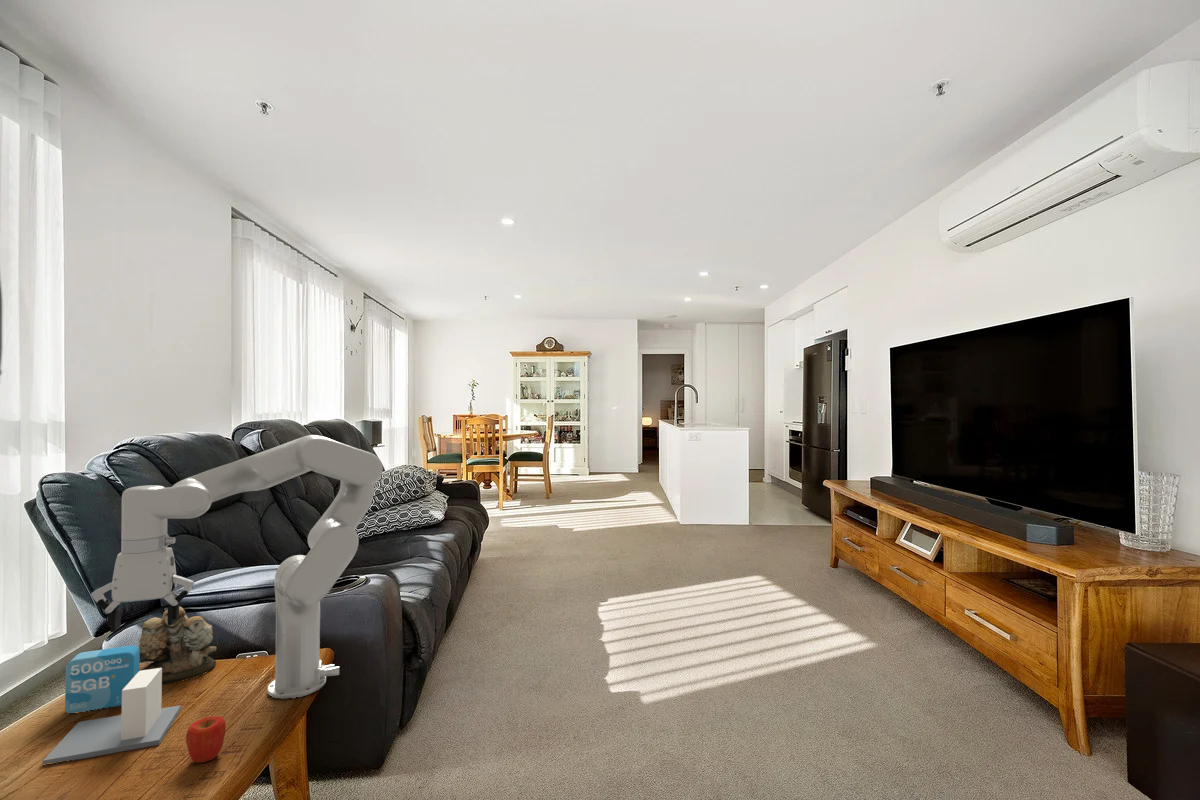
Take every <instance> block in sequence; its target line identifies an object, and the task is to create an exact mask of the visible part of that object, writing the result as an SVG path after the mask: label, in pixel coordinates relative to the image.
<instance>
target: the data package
mask: <svg viewBox="0 0 1200 800" xmlns="http://www.w3.org/2000/svg"><path fill="white" fill-rule="evenodd" d="M139 671H140V650H139V646H136V645H134V644H133V645H132V644H131V645H123V646H118V647H116V646H115V647H111V648H104V649H96V650H89V651H84V652H79V653H77V654H76V655H75V656H74V657H73V658H72V659H71V660H70V661H69V662H68V663H67V664H66V666H65V688H64V689H65V690H64V691H65V693H64V694H65V695H64V698H65V699H64V710H65V712H66V713H68V714H69V713H75V712H83V711H88V712H90V711H89V710H94V711H98V710H97V709H100V710H103V709H102V708H105V709H110V708H109V707H111V708H115V707H116V708H117V707H122V690H123V689H124V688H125V686H126V685H127V684H128V683H129V682H130V681H131V680H132V679H133V677H134V676H135V675H136V674H137V673H138V672H139ZM95 709H96V710H95ZM83 713H84V712H83Z"/></svg>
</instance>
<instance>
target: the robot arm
mask: <svg viewBox="0 0 1200 800" xmlns="http://www.w3.org/2000/svg"><path fill="white" fill-rule="evenodd" d="M383 467H384V466H383V463H382V461H381V460H380V458H379V457H378V456H377V455H375V454H374V453H373V452H369V451H366V450H363V449H359V448H357V447H353V446H351V445H348V444H345V443H343V442H339V441H336V440H334V439H333V438H332V439H331V438H329V437H326V436H323V435H317V434H308V435H304V436H301V437H299V438H296V439H293V440H290V441H288V442H285V443H282V444H280V445H277V446H275V447H272V448H269V449H266V450H264V451H260V452H258V453H255V454H253V455H249V456H246V457H243V458H241V459H238V460H236V461H232V462H229V463H226V464H223V465H220V466H217V467H214V468H210V469H207V470H206V471H203V472H200V473H198V474H195V475H191V476H189V477H187V478H184V479H182V480H180V481H178V482H176V483H174V484H173V485H172V486H170V487H165V486H163V485H158V484H157V485H155V484H154V485H152V484H151V485H150V484H149V485H137V486H132V487H129V488H127V489H124V490H123V491H122V495H121V542H120V543H121V551H120V552H119V553H118V554H117V556H116V559H115V563H114V567H113V568H114V569H113V574H112V581H111V582H108V583H107V584H105V585H103V586H101V587H99V588H97V589H95V590H94V591H92V592H91V594H90V595H91V598H93V600H94V602H96V605H97V606H98V607H99V608H101V609H102V610H104V612H105V613H106V614H107V628H109V631H110V633H114V632H116V631H118V629H120V628H121V626H122V625H121V623H122V622H121V621H122V617H121V616H122V609H121V607H119V606H120V605H121V604H122V603H131V602H132V603H133V602H141V601H142V602H143V601H151V600H152V601H153V600H158V599H159V600H161V599H164V601H166V602H167V603H168V604H169V605H168V606H167V609H168V625H172V624H173V623H174V622H175V621H176V619H178V618H179V607H180V603H181V602H182V601H183V599H184V598H185V597H186V596H188V595H189V593H190V592H191V590H192V588H193V587H194V584H195V581H194V580H192V579H189V578H186V577H183V576H180V575H177V570H176V569H177V567H176V562H175V554H174V550H173V548H172V547H168V546H169V545H171V544H173V545H174V544H175V543H176V537H173V536H172V537H171V536H169V534H168V519H170V520H171V519H173V520H174V519H176V520H177V519H181V520H182V519H185V520H186V519H189V520H190V519H195V518H197V517H200V516H202V515H204V514H205V513H207V511H208V510H210V508H211V505H212V503H214V502H217V501H219V500H222V499H225V498H227V497H230V496H233V495H237V494H240V493H246V492H254V491H262V490H266V489H269V488H272V487H274V486H276V485H278V484H282V483H283V482H286V481H288V480H290V479H294V478H295V477H298V476H301V475H305V474H306V473H308V472H311V471H312V472H314V473H317V474H319V475H323V476H326V477H329V478H332V479H334V480H335V479H336V480H339V481H340V485H339V490H338V493H337V494H336V496H335V497H334V499H333V501H332V502H331V504H330V505H329V507H328V508H327V509H326V510H325V512H324V513H323V514H322V516H321V517H320V518H319V519H318V521H316V523H315V524H314V525H313V527H312V528H311V529H310V530H309V533H308V535H307V544H308V547H309V548H310V550H309V551H308V552H307V554H306V555H303V554H297V555H296V554H295V555H292V556H289V557H288V558H286V559H285V560H283V561H282V562H281V563H280V564H279V566H278V567H277V568H276V569H277V570H276V572H275V574H274V582H273V583H274V585H273V586H274V596H275V598H274V599H275V660H274V662H275V668H274V672H275V673H274V674H275V676H274V680H272V681H271V682H270V683H269V684H268V686H267V695H268V694H269V695H270V696H272V697H271V698H273V697H275V698H274V699H276V698H292V699H297V698H296V697H298V698H301V697H304V696H308V695H310V694H313V693H315V692H317V691H318V690H320V689H322V688H323V686H325V684H326V682H327V677H334V676H339V675H340V666H335V663H334V664H333V663H331V664H327V665H325V664H323V663H322V661H323V660H322V659H320V648H321V646H320V645H321V641H320V640H321V639H320V638H321V632H320V631H321V601H322V599H323V598H324V597H325V596H326V595H327V594H328V593H329V592H330V590H331V589H332V588H333V586H334V585H335V583H337V580H339V578H340V577H341V575H342V574H343V572H344V571H345V570H346V568H347V567H348V565H349V564H350V563H351V562H352V560H353V558H354V557H355V555H356V553H357V551H358V547H359V541H360V539H359V535H358V532H357V531H356V528H358V526H359V524H360V523H361V521H362V519H363V518H364V516H365V515H366V514H367V512H368V510H369V509H370V507H371V506H372V505H371V504H372V503H373V498H374V494H375V483H377V482H378V481H379V480H380V478H381V477H382V475H383ZM178 585H180V586H182V587H183V589H182V590H181V592H180V593H179V594H178V593H177V592H176V591H175V590H176V589H177V587H178ZM110 590H111V600H112V601H111V600H110V599H108V598H107V597H105V595H104V594H105V593H107V592H108V591H110ZM269 695H268V696H269ZM270 696H269V697H270Z"/></svg>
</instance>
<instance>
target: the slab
mask: <svg viewBox="0 0 1200 800" xmlns="http://www.w3.org/2000/svg"><path fill="white" fill-rule="evenodd" d="M141 670H142V669H141ZM162 686H163V685H162V668H156V669H149V670H142V671H140V670H139V672H138V673H137V674H136V675H135V676H134V677H133V679H132V680H131V681H130V682H129V683H128V684H127V685H126V686H125V688H124V689H123V690H122V706H121V715H122V718H121V740H126V739H132V738H138V737H144V736H146V735H147V733H148V732H149V731H150V729H151V728H152V726H153V725H154V723H155V722H156V720H157V719H158V718H159V716H160V715H161V708H162V698H163V697H162V694H163V693H162V691H163V690H162V689H163V688H162Z"/></svg>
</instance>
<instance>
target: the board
mask: <svg viewBox="0 0 1200 800" xmlns="http://www.w3.org/2000/svg"><path fill="white" fill-rule="evenodd" d="M181 710H182V705H174V706H168V707H161V715H160V716H159V718H158V719H157V720H156V722H155V723H154V725H153V726H152V728H151V729H150V731H149V732H148V733H147V735H146V736H144V737H138V738H132V739H126V740H121V718H122V714H118V715H113V716H107V717H102V718H95V719H90V720H88V719H87V720H82V721H78V722H77V723H76V724H75V725H74V726H73V727H72V729H71V730H70V731H69V732H68V733H67V734H65V736H64V737H63V738H62V739H61V740H60V742H58V743H57V745H56V746H55V747H54V748H53V749H52V750H51V751H50V752H49V754H48V755H47V756H46V757H45V758H44V759H43V760H42V765H43V764H47V763H53V762H54V763H55V762H59V761H67V760H72V761H78V760H82V759H88V758H93V757H100V756H103V755H109V754H115V753H121V752H122V753H123V752H125V751H133V750H139V749H143V748H149V747H154V746H158V745H160V744H161V742H162V741H163V739H164V738H165V736H166V735H167V733H168V731H169V729H170V728H171V726H172V724H173V723H174V721H175V720H176V719H177V716H178V715H179V713H180V712H181ZM75 759H76V760H75ZM77 759H78V760H77ZM67 762H68V761H67Z"/></svg>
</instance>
